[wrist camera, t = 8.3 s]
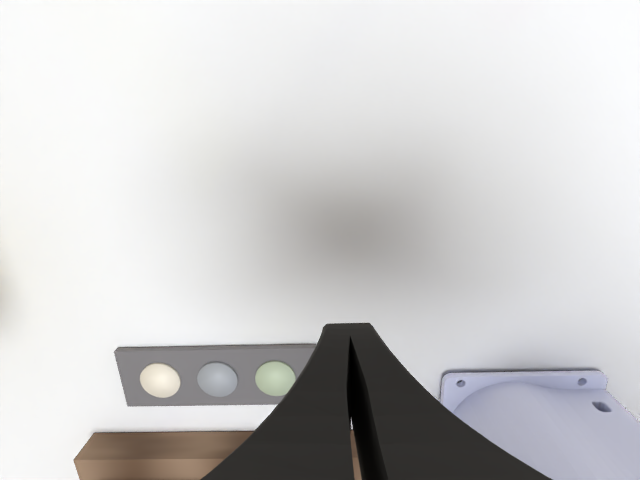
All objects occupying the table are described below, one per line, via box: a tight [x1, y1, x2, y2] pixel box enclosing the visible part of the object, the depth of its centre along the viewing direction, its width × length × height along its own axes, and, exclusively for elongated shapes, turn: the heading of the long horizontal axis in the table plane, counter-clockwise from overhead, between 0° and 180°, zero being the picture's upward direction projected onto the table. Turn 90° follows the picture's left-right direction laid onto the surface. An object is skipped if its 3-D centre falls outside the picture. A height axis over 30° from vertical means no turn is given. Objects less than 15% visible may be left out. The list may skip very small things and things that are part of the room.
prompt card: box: [114, 344, 316, 406], centre depth 22 cm, size 12×4×1 cm, turn 92°
